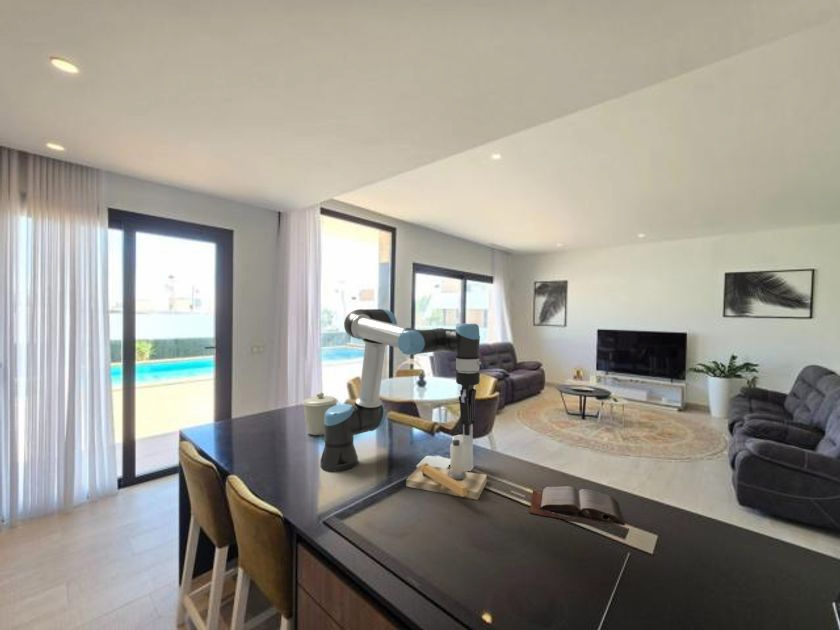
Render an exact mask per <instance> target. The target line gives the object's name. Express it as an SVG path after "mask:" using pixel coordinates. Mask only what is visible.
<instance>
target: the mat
mask: <svg viewBox="0 0 840 630" xmlns="http://www.w3.org/2000/svg"><path fill="white" fill-rule="evenodd" d="M422 463H427V464H428V465H430V466H434V467H440V468H446V469H449V468H450V466H449V465H450V458H447V457H440V456H434V455H426V456H424V458H423V459H422V460H421V461H420V462H418V464H416V466H415V468H416V469H417V468H418V467H419V466H420V465H421V464H422Z"/></svg>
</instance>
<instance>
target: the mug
mask: <svg viewBox="0 0 840 630" xmlns="http://www.w3.org/2000/svg"><path fill="white" fill-rule="evenodd" d="M453 440H459V441H460V443H461V444H462V465H463V471H469V472H471V471H470V470H472V469H473V468H474V469H475V467H474V443H473V444H472V445H465V444H463V434H457V435H454V436H452V441H453ZM474 469H473V470H474ZM473 470H472V471H473Z"/></svg>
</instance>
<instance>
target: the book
mask: <svg viewBox="0 0 840 630" xmlns="http://www.w3.org/2000/svg"><path fill="white" fill-rule="evenodd" d="M541 491H542V492H539V491H538V490H534V489H533V490H532V494H531V500H530V506H529V513H531V514H535V515H539V516H545V517H550V518H557V519H560V520H565V521H570V522H576V523H579V524H580V523H581V524H586V525H590V526H597V527H602V528H605V526H607V525H606V524H604V523H603V522H606V523H607V522H608V523H610V524H616V525H620V526H625V525H626V523H625V521H624V517H623V516H622V512H621V510H620V506H619V504H618V503H619V502H618V501H617V499H615V498H614V497H612V496H611V495H608V494H605V493H602V492H598V491H596V490H592V489H589V488H585V489H584V488H581V489H580V490H579V491H578V489H576V488H575V487H573V486H568V485H566V486H546V487H545V488H544V489H542V490H541ZM604 515H605V516H608V518H607V519H605V518H604ZM575 517H576V518H575ZM600 521H601V522H600ZM602 525H603V526H602Z"/></svg>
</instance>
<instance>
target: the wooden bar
mask: <svg viewBox="0 0 840 630" xmlns="http://www.w3.org/2000/svg"><path fill="white" fill-rule="evenodd" d="M421 472H422V473H424V474H426V475H428V476H429V477H431V478H433V479H434V480H436V481H438V482H439V483H441V484H442V485H444V486H446V487H447V488H449V489H451V490H452V491H454V492H456V493H457V494H459V495H460V496H462V497H461V498H464V497H463V496H466V495H467V486H465V485H463V484H461V483H460V482H458V481H456V480H454V479H453V478H451V477H449V476H447V475H446V474H444V473H442V472H440V471H438V470H437V469H435V468H433V467H431V466H430V465H428V464H427V463H422V464H421ZM460 496H459V497H460Z"/></svg>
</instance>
